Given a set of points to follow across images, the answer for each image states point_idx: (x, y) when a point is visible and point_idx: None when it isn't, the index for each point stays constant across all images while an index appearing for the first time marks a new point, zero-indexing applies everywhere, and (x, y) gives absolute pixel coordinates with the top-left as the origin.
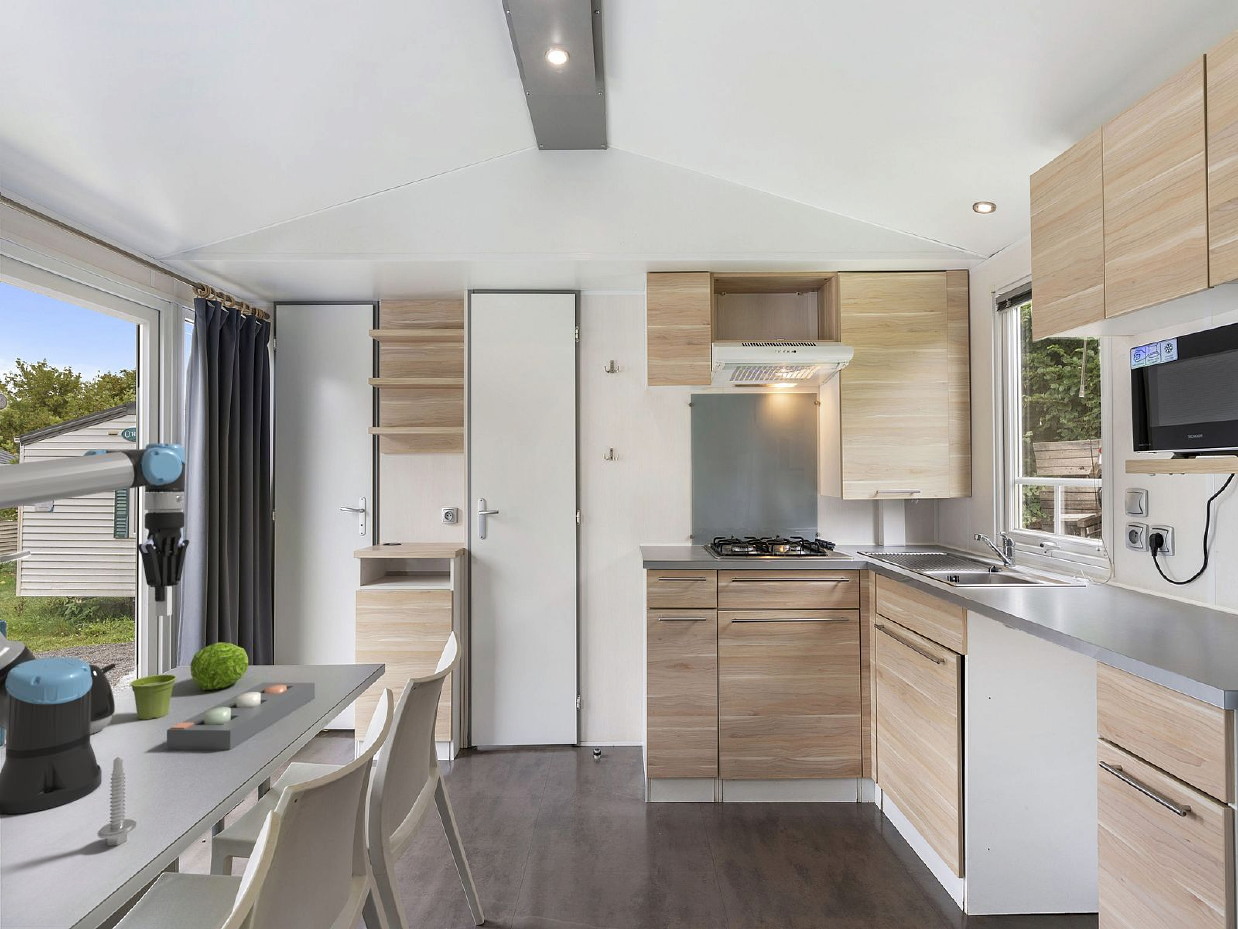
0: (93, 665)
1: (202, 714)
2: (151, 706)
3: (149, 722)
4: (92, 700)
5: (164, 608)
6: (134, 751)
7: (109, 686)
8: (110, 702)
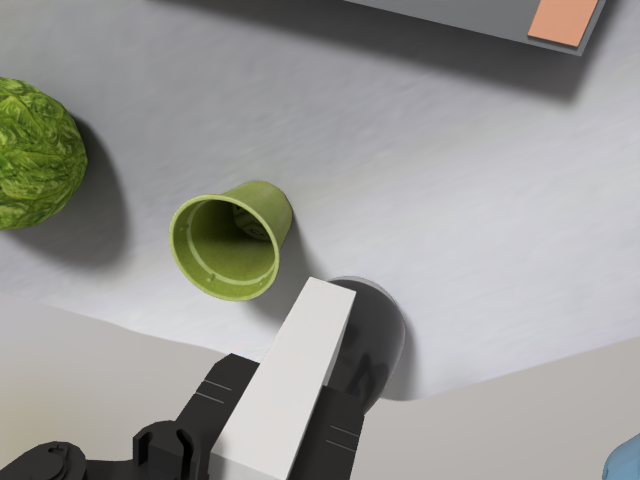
0: None
1: (435, 3)
2: (282, 215)
3: (311, 199)
4: (380, 335)
5: (338, 342)
6: (550, 139)
7: None
8: None
